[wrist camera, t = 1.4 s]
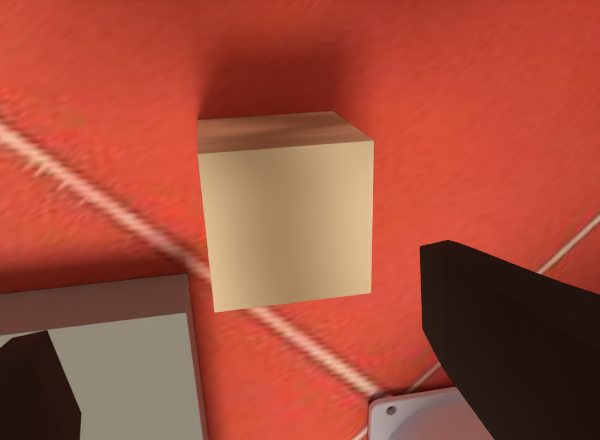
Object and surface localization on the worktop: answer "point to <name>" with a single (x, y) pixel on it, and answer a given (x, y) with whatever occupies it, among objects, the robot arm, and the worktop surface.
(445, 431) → the robot arm
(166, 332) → the slate pedestal
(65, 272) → the worktop surface
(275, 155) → the birch cube
